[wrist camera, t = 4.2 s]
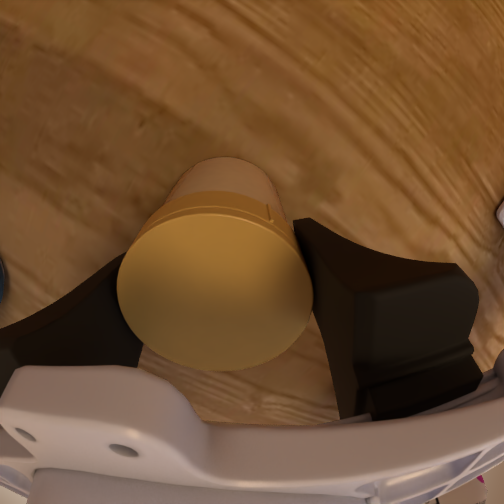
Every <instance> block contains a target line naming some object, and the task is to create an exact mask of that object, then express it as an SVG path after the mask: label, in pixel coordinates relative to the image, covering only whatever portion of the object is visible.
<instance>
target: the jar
mask: <svg viewBox="0 0 504 504" xmlns="http://www.w3.org/2000/svg"><path fill="white" fill-rule="evenodd" d="M202 191H227V192H234V193H238V194H242V195H246V196H248V197H251V198H253V199H256V200H258V201H260V202H262V203H263V204H265V205H267V204H270V205H271V209H273V210H274V211H275V212H277V213H278V214H279V215H280V216H281V217H282V218H283V219H284V220H285V221H286V222H287V220H286V217H285V214H284V211H283V207H282V204H281V201H280V198H279V195H278V192H277V190H276V188H275V186H274V184H273V182H272V181H271V180H270V178H269V177H268V176H267V175H266V174H265V173H264V172H263V171H262V170H261V169H259V168H258V167H257V166H255V165H253V164H251V163H249V162H247V161H244V160H241V159H237V158H231V157H217V158H211V159H208V160H204V161H202V162H200V163H197V164H196V165H194V166H193V167H191V168H190V169H189V170H187V171H186V172H185V173H184V174H183V175H182V176H181V177H180V179H179V180H178V182H177V183H176V185H175V186H174V188H173V189H172V191H171V192H170V194H169V195H168V197H167V199H166V200H165V202H164V203H163V205H162V206H164V205H165V204H167V203H169V202H170V201H172V200H174V199H177V198H179V197H181V196H184V195H188V194H191V193H195V192H202Z"/></svg>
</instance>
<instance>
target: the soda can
mask: <svg viewBox="0 0 504 504" xmlns="http://www.w3.org/2000/svg"><path fill="white" fill-rule="evenodd" d="M4 280H5V274H4V268H3V265H2V262H1V259H0V303H1V301H2V297H3V290H4Z"/></svg>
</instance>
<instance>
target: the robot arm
mask: <svg viewBox="0 0 504 504" xmlns="http://www.w3.org/2000/svg"><path fill="white" fill-rule="evenodd" d="M497 218H498V220H499V222H500V223H501V225H502V226H503V228H504V201H503V203H502V204H501V206H500V207H499V208H498V210H497ZM293 225H294V232H295V235H296V237H297V239H298V241H299V244H300V247H301V250H302V253H303V256H304V258H305V261H306V264H307V267H308V271H309V273H310V277H311V280H312V285H313V307H312V311H313V313H314V316H315V319H316V321H317V324H318V327H319V329H320V332H321V335H322V338H323V341H324V345H325V349H326V353H327V358H328V362H329V366H330V371H331V376H332V380H333V385H334V390H335V395H336V400H337V405H338V410H339V416H340V420H337V421H332V422H327V423H322V424H317V425H258V424H240V423H227V422H216V421H204V420H202V419H200V418H199V416H198V415H197V414H196V412H195V411H194V409H193V408H192V406H191V404H190V403H189V401H188V399H187V398H186V397H185V396H184V395H183V394H181V393H180V392H179V391H178V390H177V389H176V388H175V387H174V386H173V385H172V384H171V383H170V382H169V381H167V380H166V379H164V378H161V377H159V376H157V375H155V374H152V373H150V372H148V371H146V370H143V369H141V368H137V367H138V362H139V358H140V354H141V351H142V347H143V344H144V343H143V342H142V341H141V340H140V339H139V338H138V337H137V336H136V335H135V334H134V332H133V331H132V330H131V329H130V327H129V325H128V324H127V322H126V320H125V318H124V316H123V314H122V312H121V309H120V305H119V302H118V295H117V277H118V272H119V268H120V266H121V263H122V260H123V258H124V256H125V255H126V253H127V252H125V253H123V254H121V255H119V256H118V257H116V258H115V259H113V260H112V261H110V262H109V263H108V264H106V265H105V266H104V267H102V268H101V269H100V270H99V271H97V272H96V273H95V274H93V275H92V276H91V277H90V278H88V279H87V280H86V281H84V282H83V283H81V284H80V285H79V286H78V287H76V288H75V289H74V290H72V291H71V292H69V293H68V294H66V295H65V296H64V297H62V298H60V299H59V300H57V301H56V302H54V303H53V304H51V305H49V306H47V307H46V308H44V309H42V310H40V311H38V312H37V313H35V314H33V315H31V316H29V317H27V318H25V319H23V320H21V321H18V322H16V323H14V324H11V325H9V326H6V327H4V328H1V329H0V485H1V486H3V487H5V488H7V489H9V490H11V491H13V492H15V493H17V494H19V495H22V496H24V497H26V498H28V500H27V504H423V503H426V502H428V501H430V500H432V499H435V498H437V497H439V496H441V495H443V494H445V493H447V492H449V491H451V490H453V489H455V488H457V487H459V486H461V485H463V484H465V483H467V482H469V481H471V480H472V479H474V478H476V477H478V476H480V475H481V474H483V473H485V472H486V471H488V470H490V469H492V468H493V467H495V466H497V465H498V464H500V463H501V462H503V461H504V349H503V350H502V351H501V352H500V354H499V355H498V357H497V359H496V361H495V364H494V367H493V368H492V369H490V370H488V371H486V372H484V373H482V372H481V370H480V369H479V367H478V365H477V364H476V362H475V361H474V359H473V357H472V356H471V354H473V352H474V347H473V345H472V344H471V342H470V341H469V339H468V337H469V335H470V332H471V329H472V326H473V323H474V320H475V317H476V313H477V309H478V304H479V294H478V289H477V288H476V286H475V284H474V282H473V281H472V280H471V279H470V278H469V277H468V276H467V275H466V274H465V272H464V271H463V270H462V269H461V268H460V267H459V266H458V265H457V264H456V263H439V262H425V261H418V260H411V259H405V258H400V257H396V256H392V255H388V254H384V253H381V252H377V251H374V250H372V249H369V248H366V247H363V246H361V245H358V244H356V243H354V242H352V241H350V240H348V239H346V238H344V237H342V236H340V235H338V234H336V233H334V232H333V231H331V230H329V229H327V228H326V227H324V226H323V225H321V224H319V223H318V222H316V221H315V220H313V219H311V218H304V219H298V220H293Z"/></svg>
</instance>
